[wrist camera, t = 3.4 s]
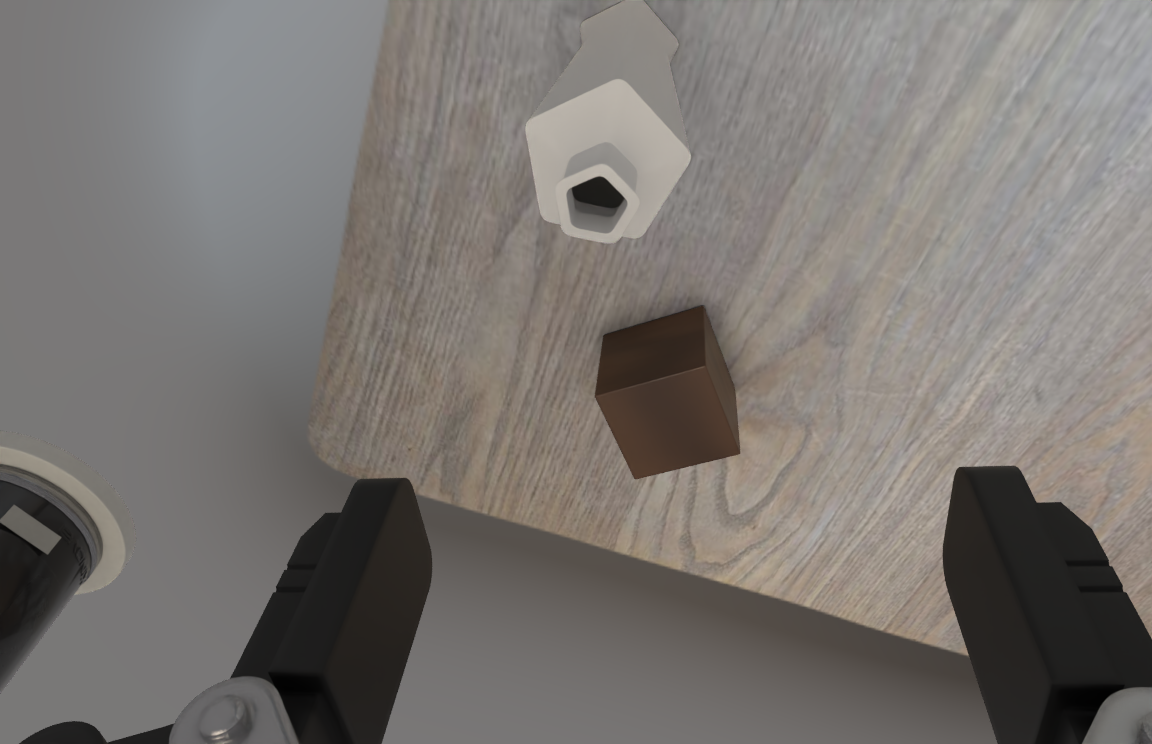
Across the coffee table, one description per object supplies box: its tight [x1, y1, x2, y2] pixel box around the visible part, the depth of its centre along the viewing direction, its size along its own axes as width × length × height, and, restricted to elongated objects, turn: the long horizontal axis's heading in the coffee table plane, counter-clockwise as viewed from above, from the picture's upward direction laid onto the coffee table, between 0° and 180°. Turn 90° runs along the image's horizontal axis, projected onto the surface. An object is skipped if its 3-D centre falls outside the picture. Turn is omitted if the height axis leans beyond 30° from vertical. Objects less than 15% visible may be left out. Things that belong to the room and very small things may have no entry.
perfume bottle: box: [525, 0, 691, 244], centre depth 28 cm, size 5×4×15 cm
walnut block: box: [595, 306, 740, 479], centre depth 40 cm, size 5×5×5 cm
